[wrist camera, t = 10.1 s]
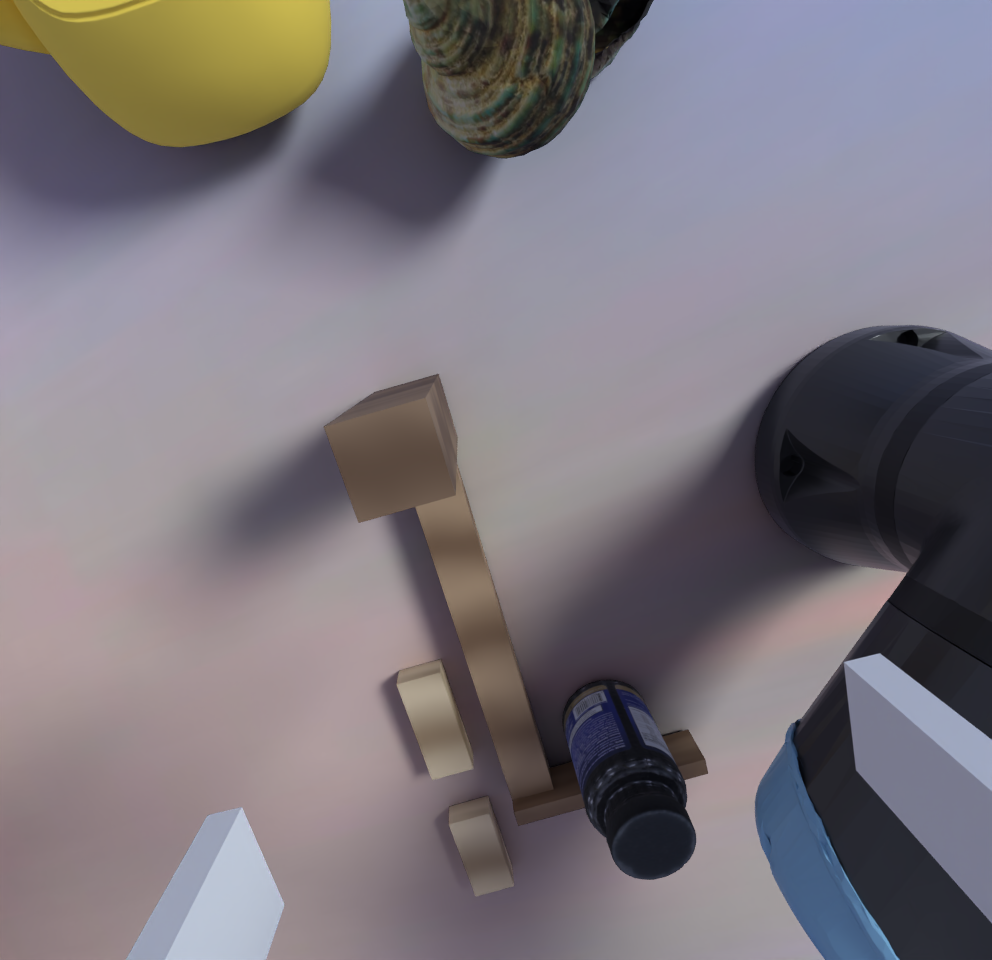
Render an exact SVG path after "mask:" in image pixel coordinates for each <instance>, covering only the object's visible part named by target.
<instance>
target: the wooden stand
mask: <svg viewBox="0 0 992 960" xmlns="http://www.w3.org/2000/svg"><path fill="white" fill-rule="evenodd" d="M324 428H325V431H326V434H327V437H328V439H329V442H330V445H331V448H332V451H333V453H334V456H335V459H336V462H337V464H338V467H339V470H340V473H341V475H342V478H343V481H344V484H345V486H346V489H347V492H348V495H349V498H350V500H351V503H352V506H353V509H354V511H355V514H356V517H357V520H358V522H359V523H361V522H364V521H368V520H371V519H375V518H378V517H382V516H385V515H389V514H392V513H396V512H399V511H403V510H406V509H410V508H413V507H415V508H416V511H417V514H418V517H419V520H420V523H421V526H422V529H423V532H424V535H425V538H426V541H427V544H428V547H429V550H430V553H431V556H432V559H433V562H434V565H435V568H436V571H437V574H438V577H439V580H440V583H441V586H442V589H443V592H444V595H445V598H446V601H447V604H448V607H449V610H450V613H451V616H452V619H453V622H454V625H455V628H456V631H457V634H458V637H459V640H460V643H461V646H462V649H463V653H464V656H465V659H466V662H467V665H468V668H469V671H470V674H471V677H472V680H473V683H474V686H475V689H476V692H477V695H478V698H479V701H480V704H481V707H482V710H483V713H484V716H485V719H486V722H487V725H488V728H489V731H490V734H491V737H492V740H493V743H494V746H495V749H496V752H497V755H498V758H499V761H500V764H501V767H502V770H503V773H504V776H505V779H506V782H507V785H508V788H509V791H510V795H511V798H512V801H513V809H514V814H515V817H516V820H517V823H518V826H520V825H524V824H527V823H531V822H535V821H538V820H542V819H545V818H549V817H553V816H556V815H560V814H563V813H567V812H571V811H574V810H578V809H581V808H585V805H584V801H583V797H582V794H581V790H580V786H579V783H578V779H577V776H576V772H575V768H574V765H573V762H569V763H566V764H562V765H559V766H555V767H551V768H549V765H548V761H547V758H546V755H545V751H544V748H543V745H542V741H541V738H540V735H539V732H538V728H537V725H536V722H535V718H534V715H533V712H532V709H531V705H530V702H529V699H528V695H527V692H526V689H525V686H524V682H523V679H522V676H521V672H520V669H519V666H518V662H517V659H516V656H515V653H514V649H513V646H512V643H511V639H510V636H509V633H508V630H507V626H506V623H505V620H504V616H503V613H502V610H501V607H500V603H499V600H498V597H497V593H496V590H495V587H494V584H493V580H492V577H491V574H490V570H489V567H488V564H487V560H486V557H485V554H484V551H483V547H482V544H481V541H480V537H479V534H478V531H477V528H476V524H475V521H474V518H473V514H472V511H471V508H470V505H469V501H468V498H467V495H466V491H465V488H464V485H463V481H462V478H461V475H460V472H459V468H458V465H457V438H458V437H457V434H456V430H455V427H454V424H453V420H452V417H451V414H450V410H449V407H448V404H447V400H446V397H445V394H444V390H443V387H442V384H441V380H440V377H439V374H436V375H433V376H429V377H426V378H422V379H419V380H415V381H412V382H408V383H405V384H401V385H398V386H394V387H391V388H387V389H384V390H380V391H377V392H374V393H373V394H371V395H370V396H368V397H367V398H365V399H364V400H362V401H361V402H359V403H358V404H356V405H355V406H354V407H352V408H351V409H349V410H348V411H346V412H345V413H343V414H342V415H340V416H339V417H337V418H336V419H335V420H333V421H332V422H330V423H329V424H327V425H326V426H324ZM663 739H664V741H665V743H666V745H667V747H668V749H669V751H670V753H671V755H672V757H673V759H674V761H675V763H676V765H677V766H678V769H679V770H680V772H681V774H682V776H683V779H684V780H686V779H690V778H693V777H697V776H701V775H704V774H708V770H707V766H706V761H705V758H704V756H703V755H702V753H701V751H700V750H699V748H698V746H697V744H696V743H695V741H694V739H693V737H692V736H691V734H690V732H689V730H684V731H681V732H677V733H674V734H670V735H666V736H663Z"/></svg>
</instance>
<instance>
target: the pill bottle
mask: <svg viewBox="0 0 992 960" xmlns="http://www.w3.org/2000/svg"><path fill="white" fill-rule="evenodd" d="M563 728H564V732H565V736H566V739H567V743H568V746H569V750H570V754H571V758H572V761H573V765H574V768H575V772H576V776H577V779H578V783H579V786H580V790H581V794H582V797H583V801H584V805H585V808H586V812H587V815H588V817H589V819H590V822H591V823H592V824H593V826H594V827H595V828H596V829H597V830H598V831H599V832H600V833H601V834H602V835H603V836H604V837H606V838H607V843H608V846H609V848H610V851H611V854H612V858H613V860H614V862H615V864H616V865H617V866H618V867H619V868H620V870H622V871H623V872H624V873H625V874H627V875H629V876H632V877H634V878H638V879H647V880H648V879H649V880H651V879H652V880H653V879H657V878H662V877H666V876H668V875H670V874H672V873H674V872H676V871H677V870H679V869H680V868H682V867H683V865H684V864H685V863H687V861H688V860H689V859H690V857H691V856H692V854H693V852H694V849H695V845H696V833H695V830H694V827H693V825H692V822H691V820H690V818H689V815H688V813H687V811H686V809H685V807H686V802H687V792H686V784H685V781H684V779H683V776H682V774H681V772H680V770H679V769H678V766H677V765H676V763H675V761H674V759H673V757H672V755H671V753H670V751H669V749H668V747H667V745H666V743H665V741H664V739H663V737H662V735H661V733H660V731H659V729H658V728H657V726H656V724H655V722H654V720H653V718H652V716H651V714H650V712H649V710H648V708H647V706H646V704H645V702H644V700H643V698H642V697H641V696H640V694H639V693H638V692H637V691H636V690H635V689H634V688H633V687H631V686H630V685H628V684H626V683H623V682H620V681H611V680H604V681H597V682H593V683H591V684H588V685H586V686H584V687H582V688H581V689H579V690H578V691H577V692H576V693H575V694H574V695H573V696H572V697H571V698H570V700H569V701H568V703H567V705H566V707H565V710H564V713H563Z"/></svg>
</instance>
